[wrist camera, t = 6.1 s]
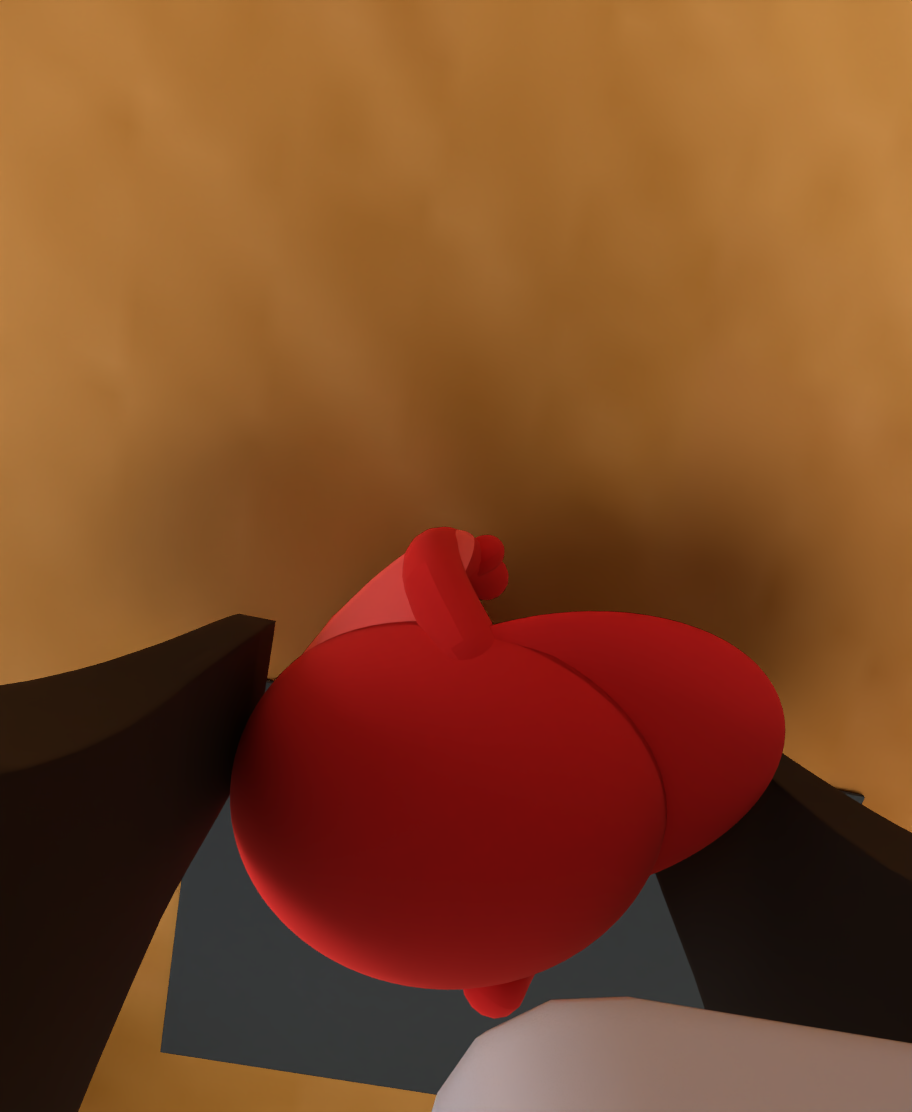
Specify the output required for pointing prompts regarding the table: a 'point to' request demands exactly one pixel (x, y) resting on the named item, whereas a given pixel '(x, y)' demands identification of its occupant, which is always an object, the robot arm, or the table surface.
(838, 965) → the robot arm
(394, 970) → the red rounded lobed lump
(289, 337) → the table surface
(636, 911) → the mat
